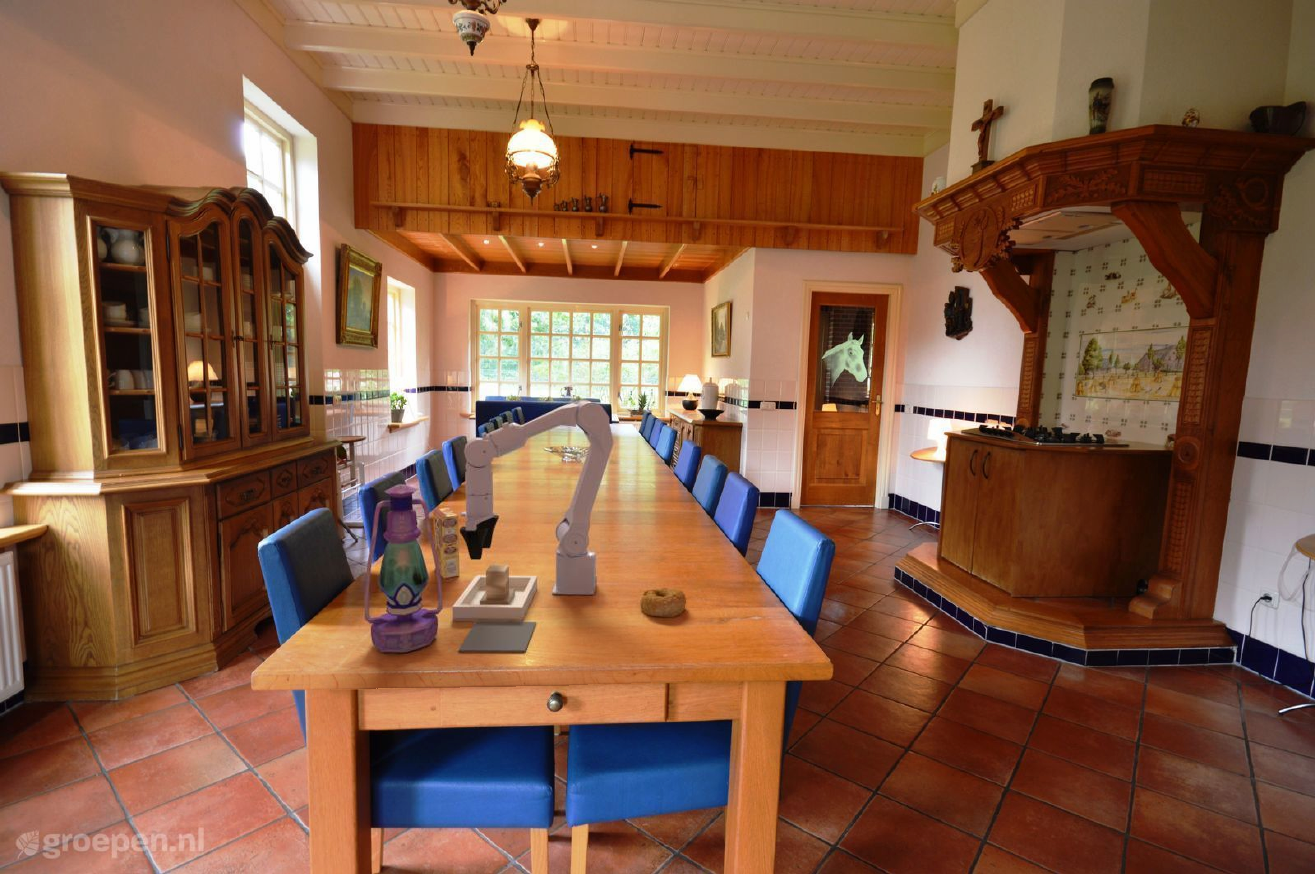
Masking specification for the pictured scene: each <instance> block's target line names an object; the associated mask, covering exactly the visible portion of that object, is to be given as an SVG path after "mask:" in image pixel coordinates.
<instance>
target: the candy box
mask: <svg viewBox="0 0 1315 874" xmlns="http://www.w3.org/2000/svg"><path fill="white" fill-rule="evenodd" d="M432 514H433V515H432V516H433V518H432V519H433V541H434V545H435V549H436V553H437V558H438V563H439V568H440V575H441V578H443V579H448V578H453V577H454V578H455V577H460V574H461V571H460V545H459V544H460V542H459V516H458V514H457V513H455V512H454V511H453V510H452V509H451V508H449V507H444V508H436V509H433V510H432Z"/></svg>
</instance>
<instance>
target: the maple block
mask: <svg viewBox="0 0 1315 874" xmlns="http://www.w3.org/2000/svg"><path fill="white" fill-rule="evenodd" d="M485 575H486V598H506V596H507V594H508V592H509V576H510V565H508V564H490V565H489V566H488V568H487V569H486V570H485Z"/></svg>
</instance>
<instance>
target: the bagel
mask: <svg viewBox="0 0 1315 874" xmlns="http://www.w3.org/2000/svg"><path fill="white" fill-rule="evenodd" d="M642 595H643V596H642V597H641V600H640V609H641V611H642V613H644V614H645V615H648V616H650V617H651V616H652V617H658V618H659V617H660V618H674V617H677V616H679V615H681V614H682V613H683V612H684V611H685V610H686V604H687V597H686V594H685V593H684V591H683V590H681V589H680V588H667V587H662V588H656V589H655V588H654V589H648V590H646V591H644V593H643V594H642Z"/></svg>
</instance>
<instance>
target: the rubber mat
mask: <svg viewBox="0 0 1315 874" xmlns="http://www.w3.org/2000/svg"><path fill="white" fill-rule="evenodd" d="M536 625H537V622H536V621H522V622H513V621H475V623H474V624H473V626H472V627H471V629H470V630H469V633H468V634H467V636H466V637H465V639H464V641H463V642H462V643H461V645H460V646H459V648H458V650H457V651H458V653H521V654H522V653H526V651H527V649H528V646H529V644H530V641H531V639H532V636H533V633H534V631H535V628H536Z"/></svg>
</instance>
